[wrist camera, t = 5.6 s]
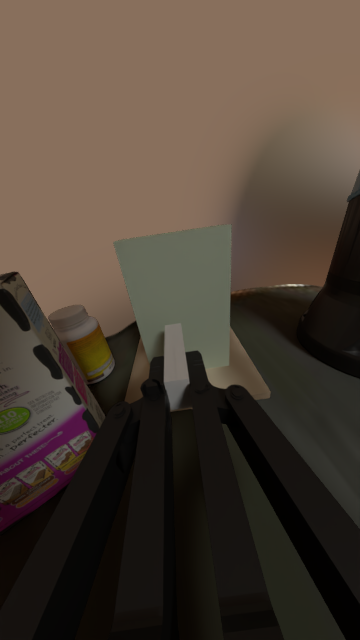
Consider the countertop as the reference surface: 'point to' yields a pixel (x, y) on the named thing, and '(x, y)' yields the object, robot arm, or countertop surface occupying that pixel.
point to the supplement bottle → (83, 342)
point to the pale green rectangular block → (181, 289)
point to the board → (221, 377)
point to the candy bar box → (37, 407)
